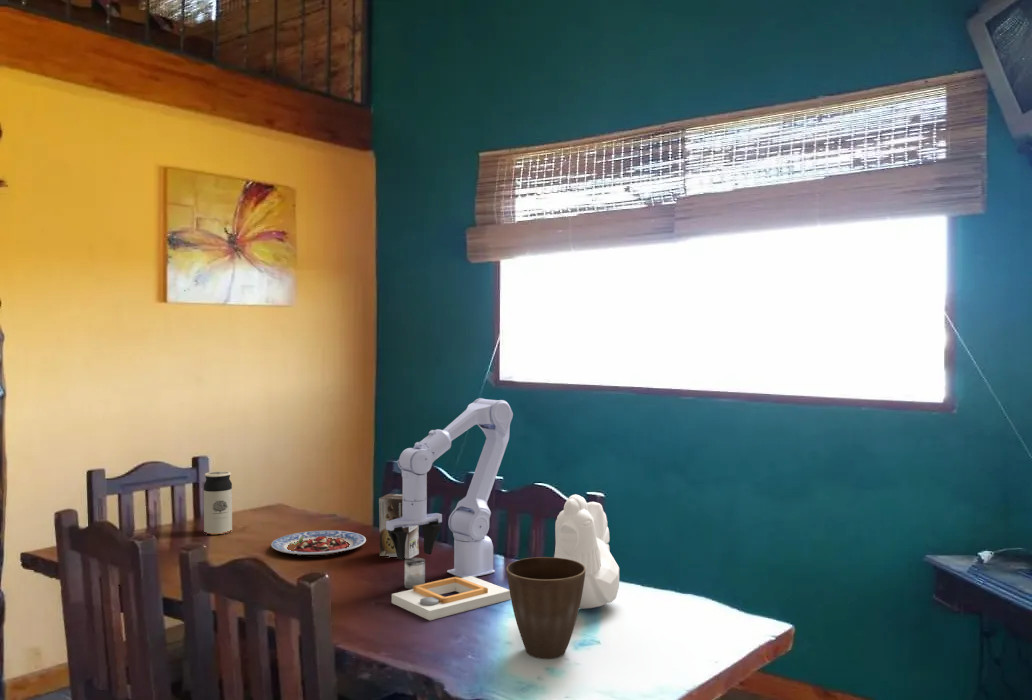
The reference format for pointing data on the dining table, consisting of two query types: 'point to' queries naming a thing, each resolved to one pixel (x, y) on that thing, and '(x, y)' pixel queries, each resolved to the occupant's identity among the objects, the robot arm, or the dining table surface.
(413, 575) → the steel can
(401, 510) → the coffee box
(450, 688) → the dining table surface
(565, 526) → the decorative rooster
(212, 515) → the travel mug
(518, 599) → the plant pot
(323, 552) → the ceramic plate
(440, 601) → the white flat frame
